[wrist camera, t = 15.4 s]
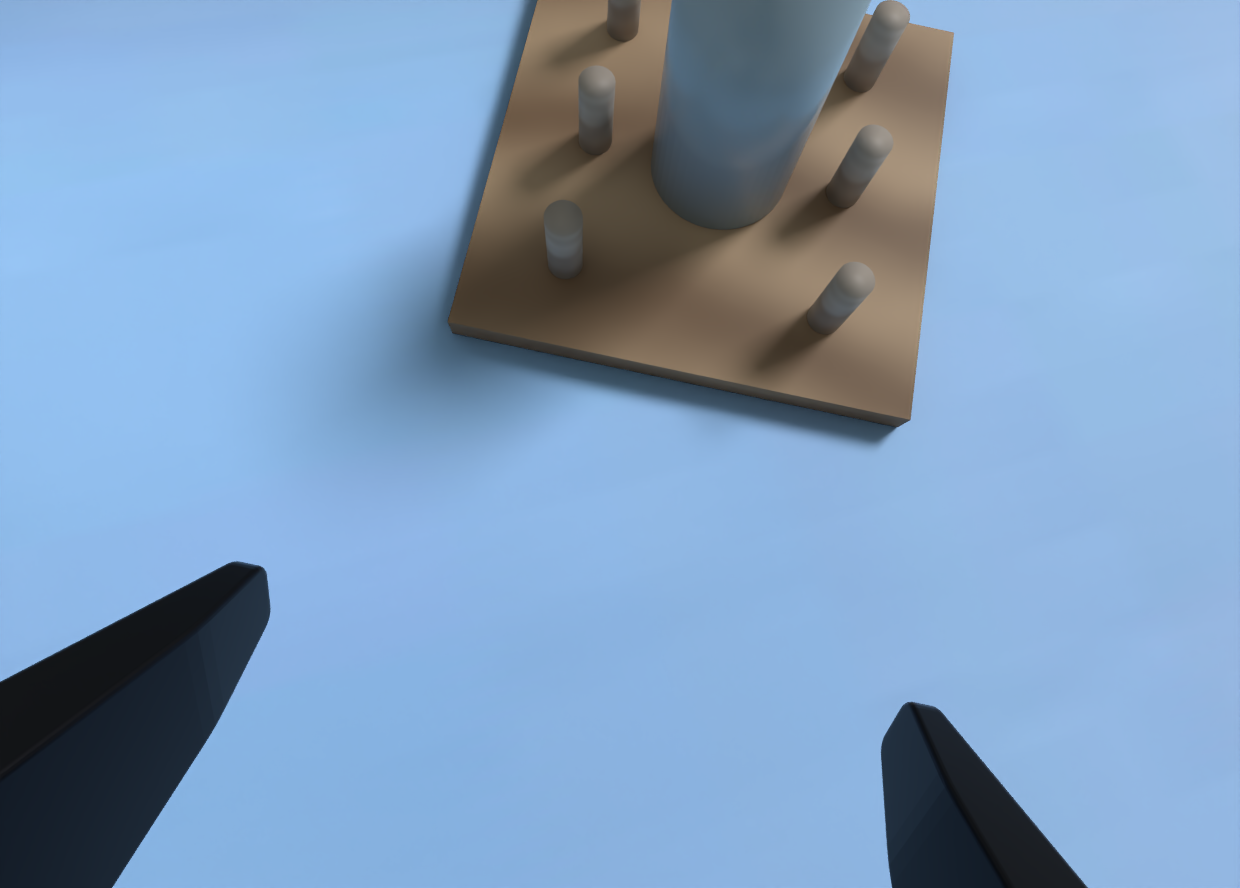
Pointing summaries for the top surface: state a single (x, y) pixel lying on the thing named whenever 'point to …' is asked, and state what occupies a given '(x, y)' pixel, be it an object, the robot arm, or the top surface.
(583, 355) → the dish rack
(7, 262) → the top surface
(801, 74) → the grey dome-topped cylinder
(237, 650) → the robot arm
